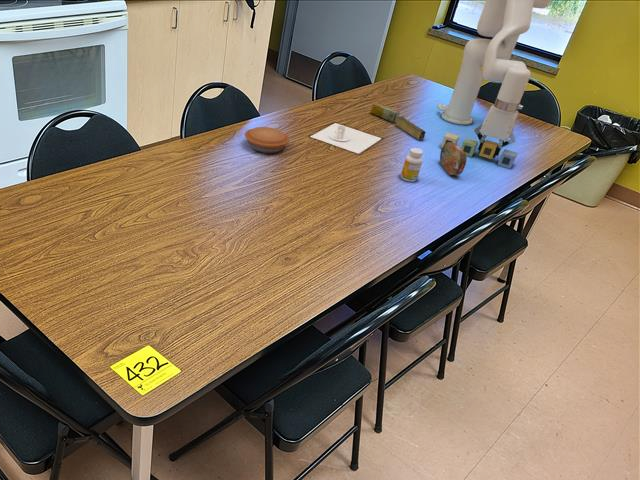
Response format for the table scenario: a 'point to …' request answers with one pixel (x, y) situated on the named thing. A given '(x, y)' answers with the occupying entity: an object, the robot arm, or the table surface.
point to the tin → (453, 158)
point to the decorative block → (410, 128)
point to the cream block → (450, 139)
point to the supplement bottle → (412, 165)
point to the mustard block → (488, 149)
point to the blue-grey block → (507, 158)
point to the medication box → (385, 112)
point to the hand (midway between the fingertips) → (487, 154)
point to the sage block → (469, 146)
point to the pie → (266, 139)
